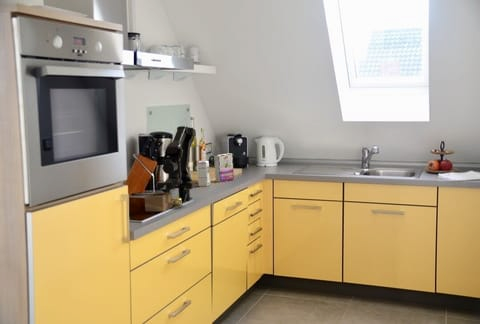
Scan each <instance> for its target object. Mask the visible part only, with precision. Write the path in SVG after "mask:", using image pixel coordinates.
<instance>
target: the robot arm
mask: <svg viewBox="0 0 480 324" xmlns="http://www.w3.org/2000/svg"><path fill="white" fill-rule="evenodd" d="M196 131H197V130H196V129H194V127H189V126H187V125H184V126H183V125H182V126H181V125H180V126H177V128H176V132H175V135H174V137H173V140H172V141H171V142H170V143H168V144H167V146H166V148H165V152H164V156H163V161H165V162H164V163H163V164H162V170H163V173H165V174H167V178H166V179H165V181H158V182H156V185H155V188H156V189H157V190H160V191H161V192H162V193H171V189H178V191H177V192H178V198H182V202H183V204H185V203H186V201H190V200H192V199H193V197H191V190H192V189H194V188H196V183H195V181H193V180H192V177H191V173H190V172H189V163H190V154H191V153H190V151H191V145H192V144H193V142H194V141H195V137H196V136H197V135H196V134H197V132H196Z"/></svg>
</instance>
